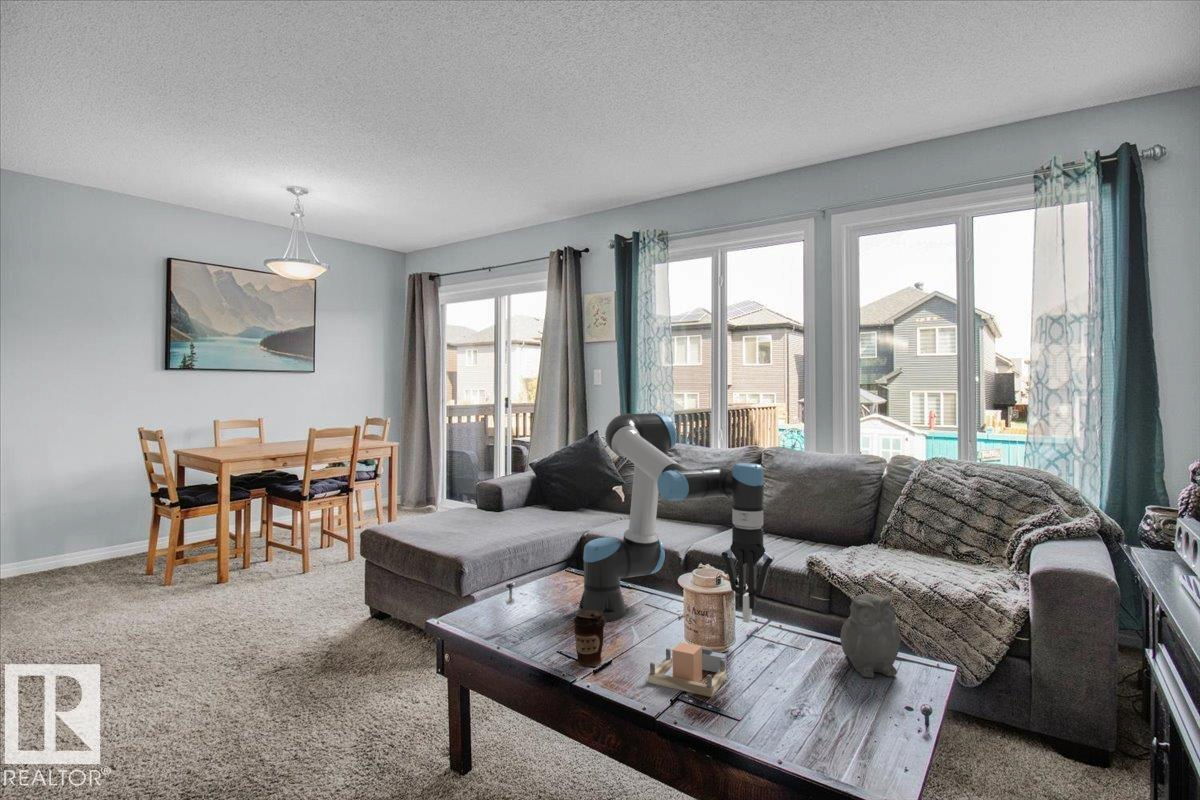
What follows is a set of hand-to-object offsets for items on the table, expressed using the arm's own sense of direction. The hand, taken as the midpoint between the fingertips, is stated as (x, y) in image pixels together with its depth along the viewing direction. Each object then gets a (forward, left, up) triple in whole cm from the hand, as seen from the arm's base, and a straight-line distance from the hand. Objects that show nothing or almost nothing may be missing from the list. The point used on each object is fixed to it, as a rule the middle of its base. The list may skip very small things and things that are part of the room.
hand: (747, 620), depth 151 cm
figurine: (-20, +26, -14) cm, 35 cm away
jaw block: (+9, -12, -14) cm, 21 cm away
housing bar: (0, -11, -14) cm, 18 cm away
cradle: (+9, -12, -14) cm, 21 cm away
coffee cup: (+11, -39, -14) cm, 43 cm away
